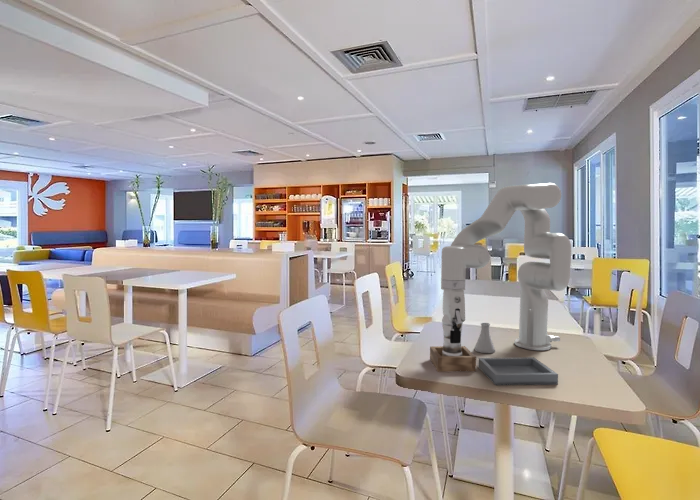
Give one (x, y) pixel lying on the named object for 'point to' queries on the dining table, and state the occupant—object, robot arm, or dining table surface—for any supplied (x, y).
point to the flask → (485, 340)
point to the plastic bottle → (448, 347)
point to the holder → (452, 360)
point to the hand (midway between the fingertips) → (452, 339)
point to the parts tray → (517, 371)
